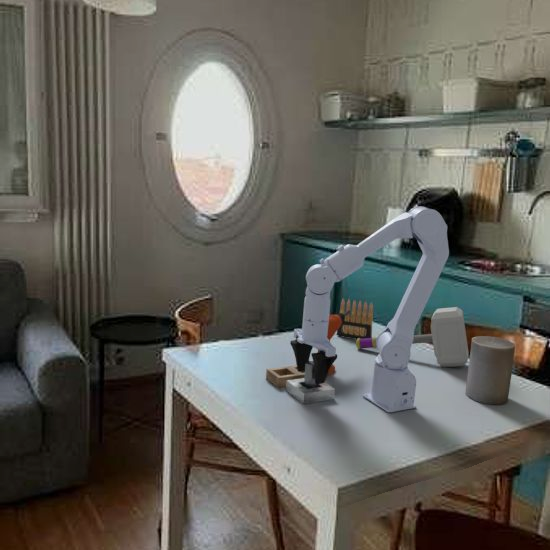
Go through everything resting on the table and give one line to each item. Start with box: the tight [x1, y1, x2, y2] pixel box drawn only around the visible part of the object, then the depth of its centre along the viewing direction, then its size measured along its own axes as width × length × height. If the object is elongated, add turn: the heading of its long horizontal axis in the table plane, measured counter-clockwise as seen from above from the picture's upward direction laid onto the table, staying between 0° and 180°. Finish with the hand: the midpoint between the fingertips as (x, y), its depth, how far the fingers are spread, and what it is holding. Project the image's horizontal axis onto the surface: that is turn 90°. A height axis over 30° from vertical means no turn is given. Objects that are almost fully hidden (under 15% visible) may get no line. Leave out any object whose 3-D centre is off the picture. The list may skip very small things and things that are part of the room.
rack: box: [265, 364, 305, 388], centre depth 136 cm, size 12×6×2 cm, turn 118°
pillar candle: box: [465, 335, 516, 406], centre depth 133 cm, size 10×10×15 cm
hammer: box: [355, 306, 470, 368], centre depth 159 cm, size 15×8×30 cm
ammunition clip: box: [336, 298, 374, 340], centre depth 174 cm, size 11×2×12 cm, turn 69°
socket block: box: [285, 378, 336, 405], centre depth 128 cm, size 8×8×2 cm
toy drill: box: [317, 309, 351, 376], centre depth 146 cm, size 5×19×15 cm, turn 148°
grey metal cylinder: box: [304, 360, 317, 389], centre depth 128 cm, size 3×3×8 cm
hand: (310, 377), depth 128 cm, fingers open, 7 cm apart
